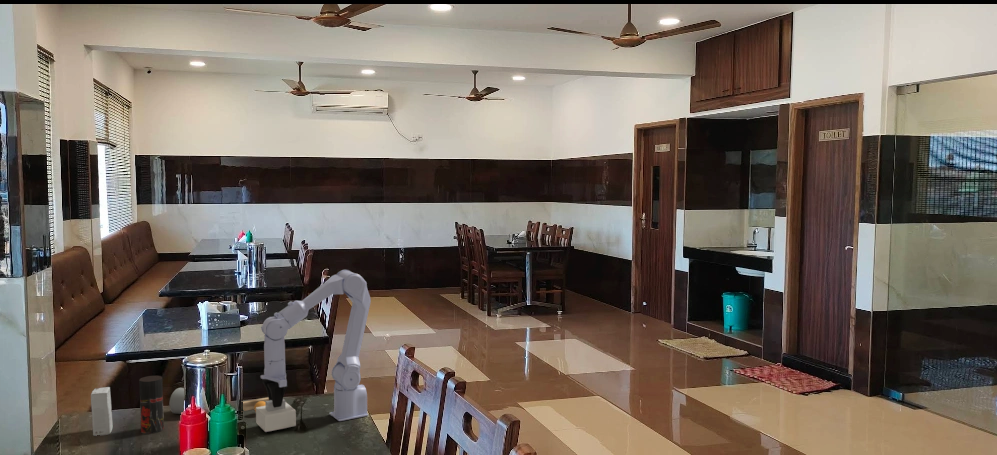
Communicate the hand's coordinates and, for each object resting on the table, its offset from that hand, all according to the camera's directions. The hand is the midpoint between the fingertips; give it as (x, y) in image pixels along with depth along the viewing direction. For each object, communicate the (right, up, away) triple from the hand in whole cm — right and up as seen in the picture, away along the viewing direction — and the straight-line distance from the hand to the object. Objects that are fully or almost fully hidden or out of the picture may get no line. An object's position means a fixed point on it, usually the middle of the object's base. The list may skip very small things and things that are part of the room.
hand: (275, 405), depth 213 cm
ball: (-8, -4, +12) cm, 15 cm away
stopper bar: (-12, -5, +17) cm, 21 cm away
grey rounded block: (-30, -6, +13) cm, 33 cm away
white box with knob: (0, -6, 0) cm, 6 cm away
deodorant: (-35, -7, -2) cm, 35 cm away
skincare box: (-48, -7, -4) cm, 49 cm away
